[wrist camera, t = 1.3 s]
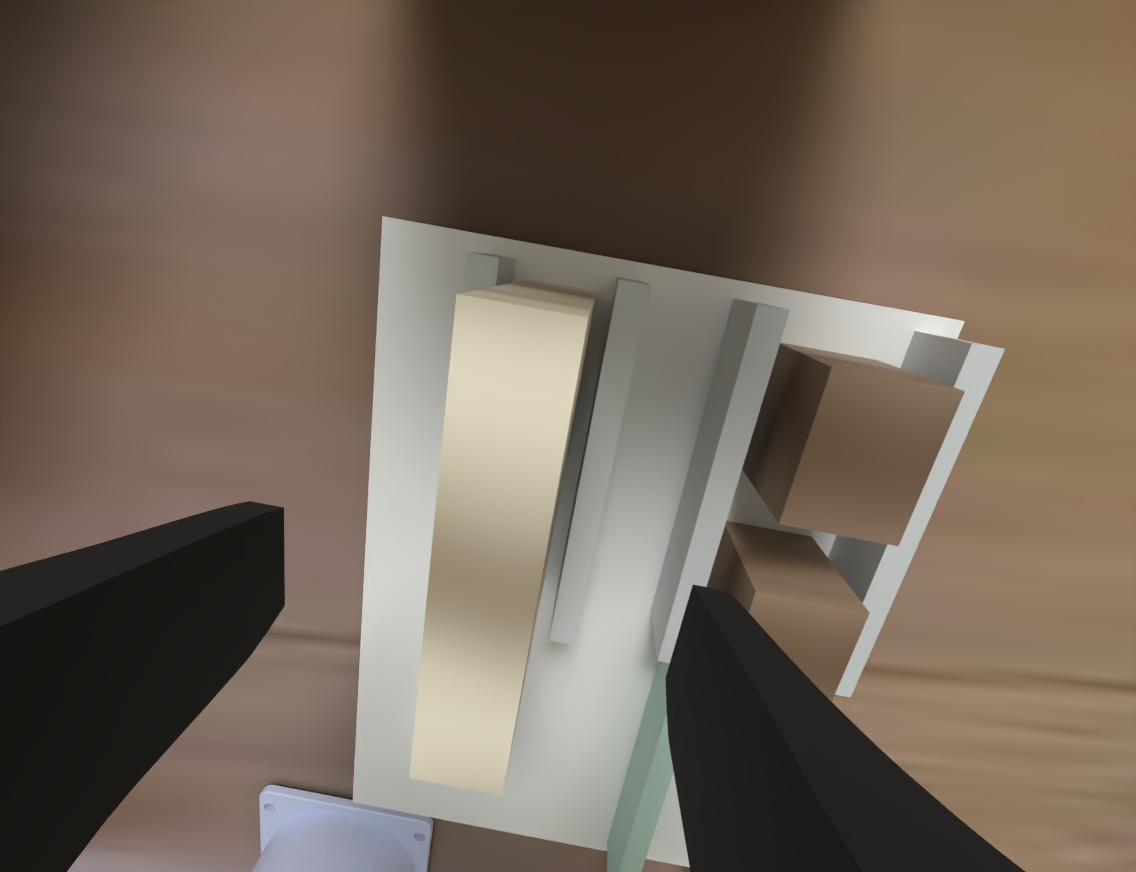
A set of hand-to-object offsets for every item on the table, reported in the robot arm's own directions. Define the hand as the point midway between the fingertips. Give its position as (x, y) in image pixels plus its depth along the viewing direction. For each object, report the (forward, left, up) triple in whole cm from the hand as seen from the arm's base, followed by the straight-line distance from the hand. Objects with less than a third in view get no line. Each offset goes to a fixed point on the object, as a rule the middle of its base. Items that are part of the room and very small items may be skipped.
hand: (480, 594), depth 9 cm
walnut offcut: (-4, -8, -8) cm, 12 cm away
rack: (-6, -3, -9) cm, 12 cm away
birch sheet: (0, 0, -8) cm, 8 cm away
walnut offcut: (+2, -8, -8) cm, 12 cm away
